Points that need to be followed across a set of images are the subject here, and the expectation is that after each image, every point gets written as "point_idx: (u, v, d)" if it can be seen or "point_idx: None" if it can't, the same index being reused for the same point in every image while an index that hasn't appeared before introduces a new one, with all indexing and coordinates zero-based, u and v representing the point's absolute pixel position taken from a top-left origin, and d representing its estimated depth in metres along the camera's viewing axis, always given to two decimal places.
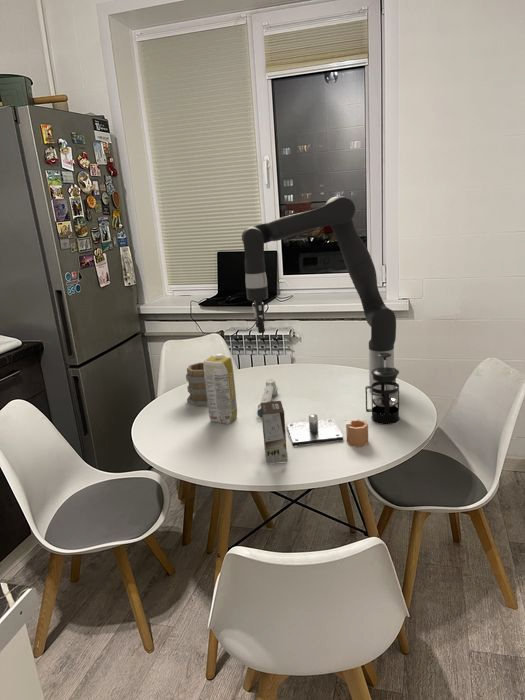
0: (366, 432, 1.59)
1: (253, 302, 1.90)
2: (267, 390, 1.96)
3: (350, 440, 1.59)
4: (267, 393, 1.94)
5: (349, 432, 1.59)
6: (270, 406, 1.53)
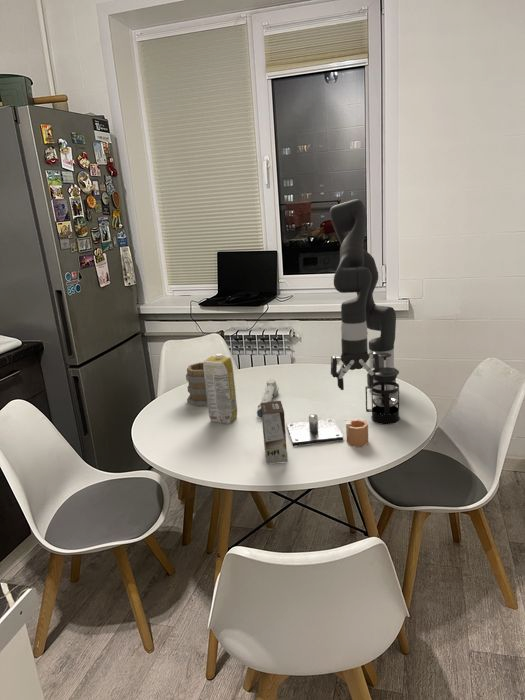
0: (366, 432, 1.59)
1: (336, 362, 1.52)
2: (267, 390, 1.96)
3: (350, 440, 1.59)
4: (267, 393, 1.94)
5: (349, 432, 1.59)
6: (270, 406, 1.53)
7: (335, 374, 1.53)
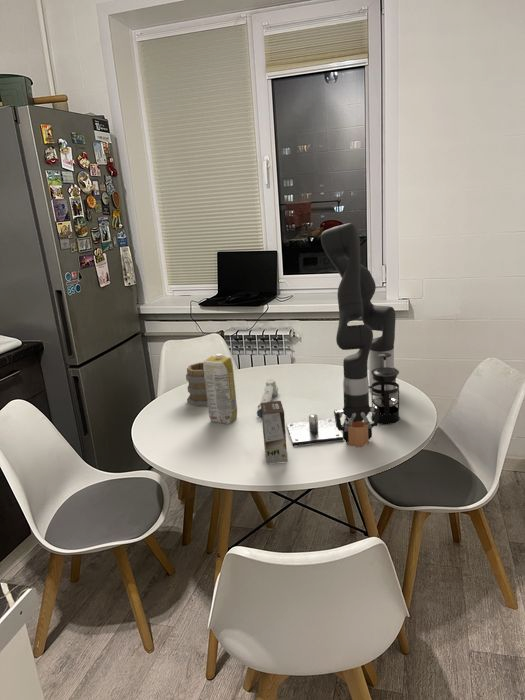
0: (366, 432, 1.59)
1: (339, 416, 1.57)
2: (267, 390, 1.96)
3: (350, 440, 1.59)
4: (267, 393, 1.94)
5: (349, 432, 1.59)
6: (270, 406, 1.53)
7: (340, 427, 1.58)
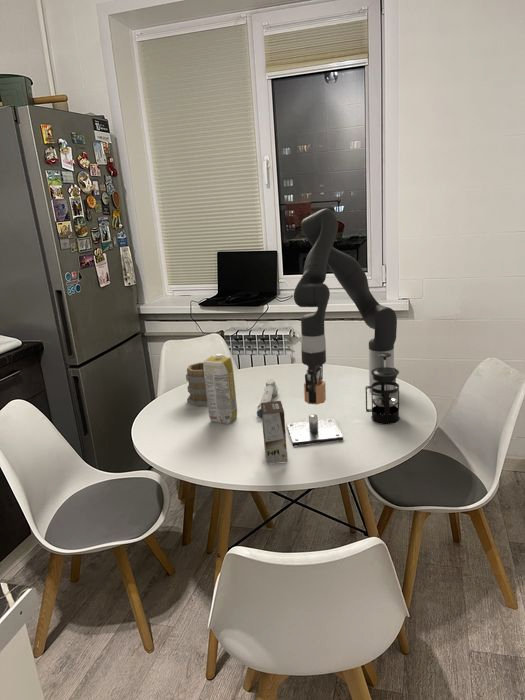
0: None
1: (313, 377, 1.57)
2: (267, 390, 1.96)
3: (318, 399, 1.61)
4: (267, 393, 1.94)
5: (317, 391, 1.61)
6: (270, 406, 1.53)
7: (314, 389, 1.58)
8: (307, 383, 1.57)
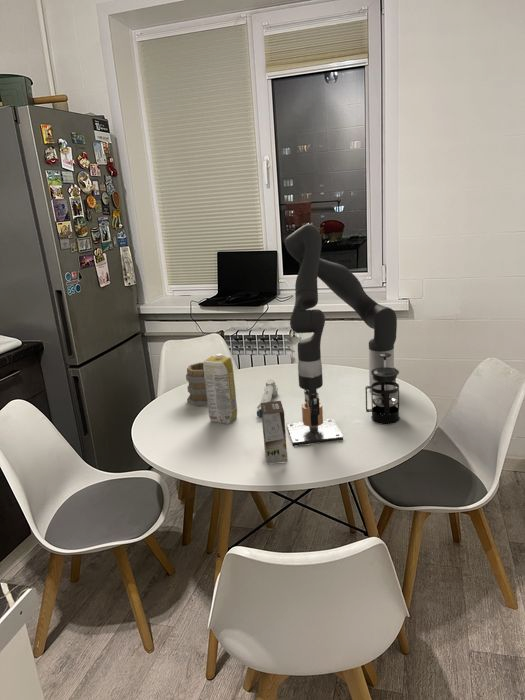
0: None
1: None
2: (267, 391, 1.96)
3: (319, 420, 1.66)
4: (267, 394, 1.93)
5: None
6: (270, 406, 1.53)
7: None
8: (313, 407, 1.60)
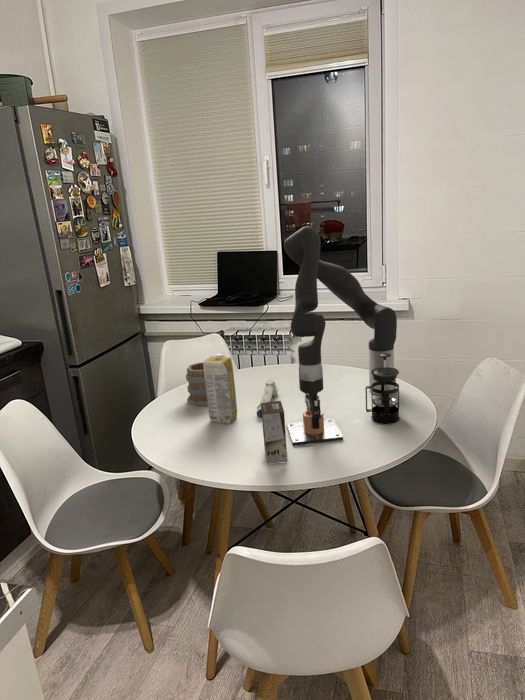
0: None
1: None
2: (267, 391, 1.96)
3: (320, 428, 1.66)
4: (267, 394, 1.93)
5: (319, 421, 1.65)
6: (270, 406, 1.53)
7: None
8: (314, 409, 1.59)
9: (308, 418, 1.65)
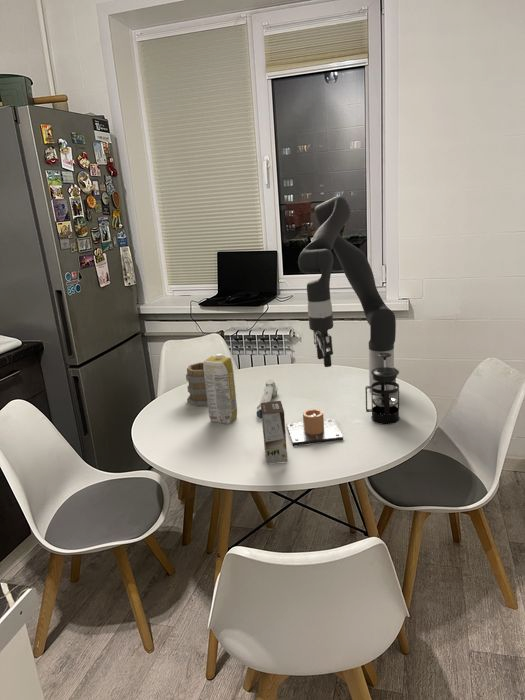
0: None
1: None
2: (267, 391, 1.96)
3: (320, 428, 1.66)
4: (267, 394, 1.93)
5: (319, 421, 1.65)
6: (270, 406, 1.53)
7: None
8: (326, 345, 1.59)
9: (308, 418, 1.65)
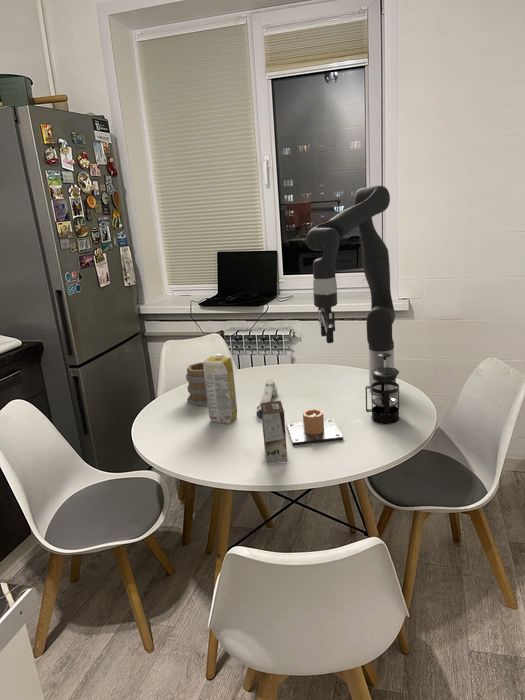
0: None
1: (333, 316, 1.64)
2: (266, 391, 1.95)
3: (320, 428, 1.66)
4: (266, 394, 1.93)
5: (319, 421, 1.65)
6: (270, 406, 1.53)
7: None
8: (329, 322, 1.63)
9: (308, 418, 1.65)
